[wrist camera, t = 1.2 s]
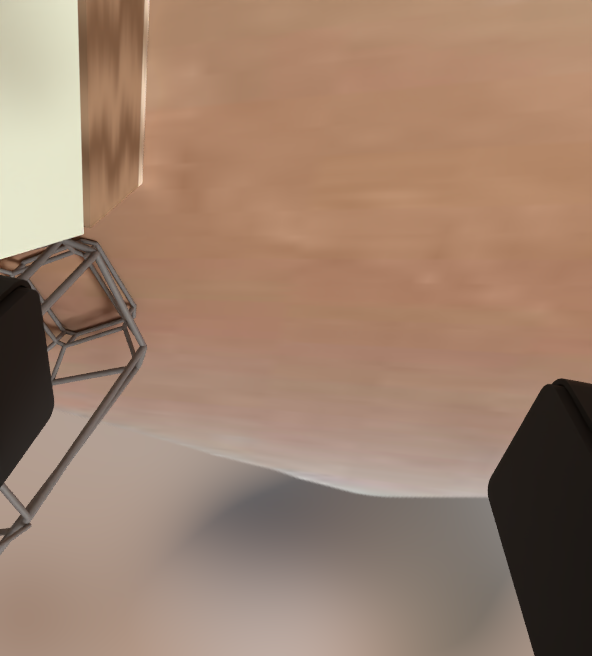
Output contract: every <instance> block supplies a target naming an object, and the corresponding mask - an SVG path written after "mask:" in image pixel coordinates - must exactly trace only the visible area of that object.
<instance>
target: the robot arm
mask: <svg viewBox="0 0 592 656" xmlns="http://www.w3.org/2000/svg"><path fill="white" fill-rule="evenodd" d="M53 408H54V396H53V389H52V381H51V374H50V367H49V360H48V352H47V345H46V338H45V331H44V323H43V316H42V309H41V302H40V296H39V293H38V292H37V291H36V290H34V289H31V286H30V284H29V282H28V281H26V280H24V279H19V278H14V277H8V276H3V275H0V488H1V486H2V485H3V483H4V482H5V481H6V479H7V478H8V476H9V475H10V474H11V472H12V471H13V469H14V468H15V467H16V465H17V464H18V462H19V461H20V459H21V458H22V457H23V455H24V454H25V452H26V451H27V450H28V448H29V447H30V445H31V444H32V443H33V441H34V440H35V438H36V437H37V435H38V434H39V433H40V431H41V430H42V429H43V427H44V426H45V424H46V423H47V422H48V420H49V418H50V416H51V414H52V411H53ZM488 497H489V501H490V505H491V508H492V512H493V515H494V518H495V522H496V525H497V529H498V532H499V536H500V539H501V542H502V546H503V549H504V552H505V556H506V560H507V563H508V566H509V569H510V573H511V577H512V580H513V583H514V587H515V590H516V594H517V597H518V601H519V604H520V607H521V611H522V614H523V618H524V621H525V625H526V627H527V631H528V635H529V638H530V642H531V645H532V648H533V652H534V655H535V656H592V384H590V383H584V382H579V381H573V380H568V379H562V378H561V379H557V380H556V381H554V382H553V383H552V384H547V385H545V386H544V387H543V388H542V389H541V391H540V393H539V394H538V396H537V398H536V400H535V401H534V403H533V405H532V407H531V408H530V410H529V412H528V414H527V415H526V417H525V419H524V421H523V422H522V424H521V426H520V428H519V429H518V431H517V433H516V434H515V436H514V438H513V440H512V441H511V443H510V445H509V447H508V448H507V450H506V452H505V454H504V455H503V457H502V459H501V461H500V462H499V464H498V466H497V468H496V469H495V471H494V473H493V474H492V476H491V478H490V480H489V484H488Z"/></svg>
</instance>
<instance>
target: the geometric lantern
mask: <svg viewBox="0 0 592 656" xmlns="http://www.w3.org/2000/svg"><path fill="white" fill-rule="evenodd" d="M83 243H84V244H83ZM61 244H63V245H64V246H61V247H59V246H60V245H61ZM85 244H89V245H93V246H91V247H90V246H88V245H85ZM47 246H49V247H48V248H47V249H46V250H45V251H44V252H43V253H42V254H39V255H37V256H34V257H31V258H28V259H26V260H23V261H21V265H19V266H18V267H17V268H16V269H15V270H14V271H9V270H6V269H2V268H0V272H1V273H4V274H8V275H10V276H9V277H14V276H15V275H17V274H20V273H21V275H19V276H18V277H17V278H19V279H24V280H26V281H28V282H29V284H30V286H31V289H34V290H36V291H37V289H36V288H35V287H34V285H33V284H32V282H31V281H30V280H29V278H30V277H31V276H32V275H33V274H34V273H35V272H36V271H37V270H38V269H39V268H40V267H41V266H42V265H45V264H48V263H51V262H53V261H56V260H59V259H62V258H64V257H67V256H70V255H73V254H76V255H79V256H82V257H83V258H84V261H83V262H82V263H81V264H80V265H79V266H78V267H77V269H76V270H75V271H74V272H73V273H72V274H71V275H70V276H69V277H68V278H67V279H66V280H65V281H64V282H63V283H62V284H61V285H60V286H59V287H58V288H57V289H56V290H55V291H54V292H53V293H52V294H51V295H50V296H49V297H48V298H47V299H46V300H45V301H44V299H43V298H42V296H41V295H40V294H39V296H40V302H41V309H42V316H43V315H44V314H45V313H46V312H48V313H49V315H50V316H51V318H52V319H53V320H54V322H55V323H56V325H57V326H58V327H59V329H60V330H61V331H62V332H61V333H60V334H59V335H58V336H57V337H55V336H54V335H53V333H52V332H51V331H50V329H49V328H48V327H47V326H46V324H45V323H44V322H43V323H44V330H45V331H46V332H47V334H48V335H49V336H50V338H51V339H52V340H53V342H52V343H51V344H50V345H49V346H48V347H47V352H48V351H49V350H50V349H52V348H53V347H54V346H55V345H56V344H58V345H60V346H62V348H61V351H60V354H59V357H58V359H57V362H56V365H55V367H54V370H53V373H52V376H51V381H52V386H53V385H58V384H63V383H69V382H74V381H80V380H85V379H91V378H96V377H102V376H107V375H113V374H118V373H121V375H120V376H119V378H118V379H117V381H116V382H115V383H114V385H113V386H112V388H111V389H110V391H109V392H108V394H107V395H106V396H105V398H104V399H103V401H102V402H101V404H100V405H99V407H98V408H97V410H96V411H95V412H94V414H93V415H92V417H91V418H90V420H89V421H88V423H87V424H86V426H85V427H84V428H83V430H82V431H81V433H80V434H79V436H78V437H77V439H76V440H75V441H74V443H73V444H72V446H71V447H70V449H69V450H68V452H67V453H66V455H65V456H64V457H63V459H62V460H61V462H60V463H59V465H58V466H57V467H56V469H55V470H54V471H53V473H52V474H51V475H50V477H49V478H48V479H47V481H46V482H45V483H44V484H43V486H42V487H41V488H40V490H39V491H38V492H37V494H36V495H35V496H34V498H33V499H32V500H31V502H30V503H29V504H28V506H27V507H26V508H25V507H24V506H23V505H22V503H21V502H20V501H19V500H18V499H17V498H16V496H15V495H14V494H13V493H12V492H11V491H10V490H9V488H8V487H7V486H6V485H5V483H3V485H2V486H1V488H0V491H1V492H2V493H3V494H4V496H5V497H6V498H7V499H8V500H9V501H10V503H11V504H12V505H13V506H14V507H15V508H16V509H17V510H18V512H19V513H20V514H21V515H20V516H19V518H18V519H17V520H16V521H15V523H14V524H13V525H12V527H11V528H6V529H0V536H1V535H5V536H4V537H3V539H2V540H1V541H0V555H1V553H2V552H3V551H4V549H5V548H6V547H7V546H8V544H9V543H10V542H11V541H12V540H13V539H15V538H16V537H18V536H19V535H20V534H22V533H23V532H25V531H26V530H27V529H29V528H30V527H31V524H30V521H31V520H32V518H33V517H34V515H35V514H36V513H37V511H38V510H39V508H40V507H41V505H42V504H43V502H44V500H45V499H46V498H47V496H48V495H49V493H50V492H51V490H52V489H53V487H54V486H55V484H56V482H57V481H58V480H59V478H60V477H61V475H62V474H63V472H64V471H65V469H66V468H67V466H68V465H69V463H70V462H71V460H72V459H73V458H74V456H75V455H76V454H77V452H78V451H79V450H80V448H81V447H82V446H83V444H84V443H85V441H86V440H87V439H88V437H89V436H90V435H91V433H92V432H93V431H94V429H95V428H96V427H97V425H98V424H99V423H100V421H101V420H102V419H103V417H104V416H105V415H106V413H107V412H108V411H109V409H110V408H111V407H112V405H113V404H114V402H115V401H116V400H117V398H118V397H119V396H120V394H121V393H122V392H123V390H124V389H125V388H126V386H127V385H128V383H129V382H130V381H131V379H132V378H133V377H134V375H135V374H136V373H137V371H138V370H139V368H140V367H141V365H142V363H143V360H144V357H145V354H146V350H147V345H146V343H145V341H144V339H143V337H142V335H141V333H140V331H139V329H138V328H137V326H136V324H135V322H134V320H133V319H134V318H135V317H136V304H135V303H134V301H133V299H132V298H131V296H130V294H129V293H128V291H127V289H126V288H125V286H124V284H123V283H122V281H121V279H120V278H119V276H118V275H117V273H116V271H115V270H114V268H113V266H112V265H111V263H110V261H109V260H108V258H107V256H106V255H105V253H104V251H103V250H102V248H101V246H100V245H99V244H98V242H95V241H91V240H86V239H80V240H78V241H75V240H72V239H66V240H63V241H60V242H56V243H53V244H50V245H46V246H43V247H47ZM95 246H96V248H97V250H96V249H95ZM43 247H40V248H43ZM36 249H39V248H36ZM66 249H69V250H70V251H68V252H65V253H62V254H59V255H57V256H54V257H51V258H49V257H50V256H51V255H52V254H55V253H57V252H60V251H63V250H66ZM78 249H79V250H82V251H84V252H85V253H84V252H81V251H78ZM33 250H35V249H33ZM101 256H102V257H101ZM102 258H103V259H102ZM103 260H104V261H105V263H106V265H107V266H108V268H109V270H110V271H111V273H112V275H113V276H114V278H115V279H116V281H117V283H118V284H119V286H120V288H121V289H122V291H123V293H124V294H125V296H126V297H127V299H128V301H129V302H130V304H131V306H132V307H131V308H130V309H129V310H128V308H127V306H126V304H125V302H124V300H123V298H122V296H121V294H120V292H119V290H118V288H117V286H116V284H115V282H114V280H113V279H112V277H111V275H110V273H109V271H108V269H107V267H106V265H105V263H104V261H103ZM33 261H34V262H33ZM94 261H96V263H97V265H98V267H99V268H100V270H101V272H102V274H103V276H104V278H105V280H106V282H107V284H108V286H109V288H110V290H111V292H112V294H113V295H114V297H115V299H116V300H115V299H114V297H113V295H112V294H111V292H110V291H109V289H108V288H107V286H106V284H105V283H104V281H103V280H102V278H101V276H100V275H99V273H98V272H97V270H96V269H95V267H94V265H93V264H92V263H93V262H94ZM30 262H33V263H32V264H31V265H29V266H26V267H25V264H27V263H30ZM88 267H90V269H91V270H92V272H93V274H94V275H95V277H96V278H97V280H98V281H99V283H100V285H101V286H102V288H103V289H104V291H105V292H106V294H107V296H108V297H109V299H110V300H111V302H112V303H113V305H114V306H115V308H116V310H117V311H118V313H119V314H120V316H121V317H122V319H118V320H115V321H112V322H109V323H106V324H103V325H99V326H96V327H93V328H90V329H87V330H83V331H80V332H77V333H76V332H72V331H68V330H65V329H64V327H63V326H62V325H61V323H60V322H59V320H58V319H57V318H56V316H55V315H54V313H53V312H52V310H51V309H50V308H51V307H52V305H53V304H54V303H55V302H56V301H57V300H58V299H59V298H60V297H61V296H62V295H63V294H64V293H65V292H66V291H67V290H68V288H69V287H70V286H71V285H72V284H73V283H74V282H75V281H76V280H77V279H78V278H79V277H80V276H81V275H82V274H83V273H84V271H85V270H86V269H87V268H88ZM37 292H38V291H37ZM38 293H39V292H38ZM116 301H117V302H116ZM131 314H132V315H131ZM122 322H124V323H123V325H122V326H121V327H117V328H114V329H111V330H108V331H105V332H102V333H98V334H95V335H92V336H89V337H86V338H83V339H80V340H76V341H74V340H75V339H76V337H78V336H80V335H83V334H87V333H90V332H93V331H96V330H99V329H103V328H106V327H109V326H112V325H115V324H119V323H122ZM127 326H128V328H129V329H130V330H131V332H132V333H133V335H134V336H135V338H136V340H137V342H138V344H139V345H140V347H139V349H138V350H137V351H136V353H135V350H134V347H133V344H132V341H131V338H130V335H129V332H128V329H127ZM121 330H123V331H124V334H125V337H126V340H127V343H128V345H129V348H130V351H131V354H132V359H131V360H130V362H129V363H128V365H127V366H125V367H119V368H114V369H108V370H103V371H97V372H92V373H87V374H81V375H76V376H70V377H65V378H59V379H55V377H56V374H57V372H58V369H59V366H60V363H61V361H62V358H63V355H64V352H65V350H66V348H67V347H70V346H73V345H77V344H80V343H83V342H86V341H89V340H92V339H96V338H99V337H102V336H105V335H108V334H111V333H115V332H118V331H121ZM65 334H69V335H73V336H72V337H71V338H70V340H69V341H68V342H67V343H66V344H65V343H63V342H61V341H59V340H60V339H61V338H62V337H63V336H64V335H65Z"/></svg>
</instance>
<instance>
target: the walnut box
mask: <svg viewBox="0 0 592 656" xmlns="http://www.w3.org/2000/svg"><path fill="white" fill-rule="evenodd" d="M149 2H150V0H78V38H79V75H80V112H81V149H82V186H83V223H84V227H87V228H91V227H93V226H94V225H95V224H96V223H97V222H98V221H100V220H101V219H102V218H103V217H104V216H105V215H106V214H108V213H109V212H110V211H111V210H112V209H113V208H115V207H116V206H117V205H118V204H119V203H120V202H121V201H123V200H124V199H125V198H126V197H127V196H128V195H129V194H131V193H132V192H133V191H134V190H135V189H136V188H138V187H139V186H140V185H141V184H142V182H143V156H144V131H145V105H146V79H147V53H148V27H149Z"/></svg>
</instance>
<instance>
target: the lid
mask: <svg viewBox="0 0 592 656" xmlns="http://www.w3.org/2000/svg"><path fill="white" fill-rule="evenodd" d="M83 234H84V223H83V186H82V149H81V112H80V75H79V38H78V0H0V259H3V258H7V257H10V256H13V255H17V254H20V253H23V252H27V251H30V250H33V249H36V248H40V247H43V246H46V245H50V244H53V243H56V242H60V241H63V240H66V239H69V238H73V237H76V236H79V235H83Z"/></svg>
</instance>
